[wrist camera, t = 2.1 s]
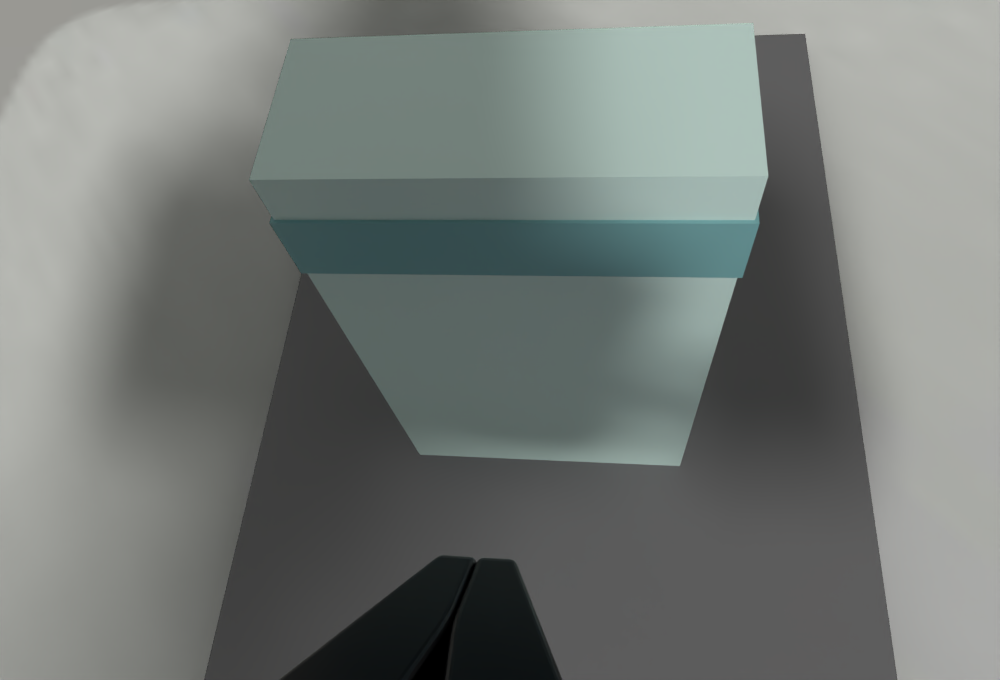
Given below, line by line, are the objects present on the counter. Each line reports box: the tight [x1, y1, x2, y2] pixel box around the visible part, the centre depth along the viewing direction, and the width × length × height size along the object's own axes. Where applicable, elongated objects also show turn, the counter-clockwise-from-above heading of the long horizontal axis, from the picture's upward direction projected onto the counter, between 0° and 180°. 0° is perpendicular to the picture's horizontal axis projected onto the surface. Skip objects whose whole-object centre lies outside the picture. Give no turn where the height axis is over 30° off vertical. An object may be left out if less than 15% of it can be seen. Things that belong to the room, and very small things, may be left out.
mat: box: [204, 34, 897, 680], centre depth 18 cm, size 24×14×1 cm, turn 175°
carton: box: [249, 23, 768, 466], centre depth 14 cm, size 2×6×10 cm, turn 85°
